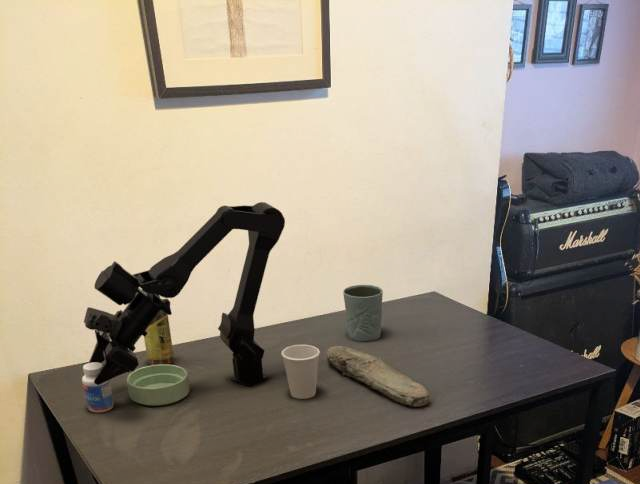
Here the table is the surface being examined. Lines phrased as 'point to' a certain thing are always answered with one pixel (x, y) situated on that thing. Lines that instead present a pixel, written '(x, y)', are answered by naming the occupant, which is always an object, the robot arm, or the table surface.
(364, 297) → the green ceramic cup
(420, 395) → the long grey stone
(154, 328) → the sauce bottle
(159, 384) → the bowl
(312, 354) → the dixie cup
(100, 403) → the pill bottle
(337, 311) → the table surface
